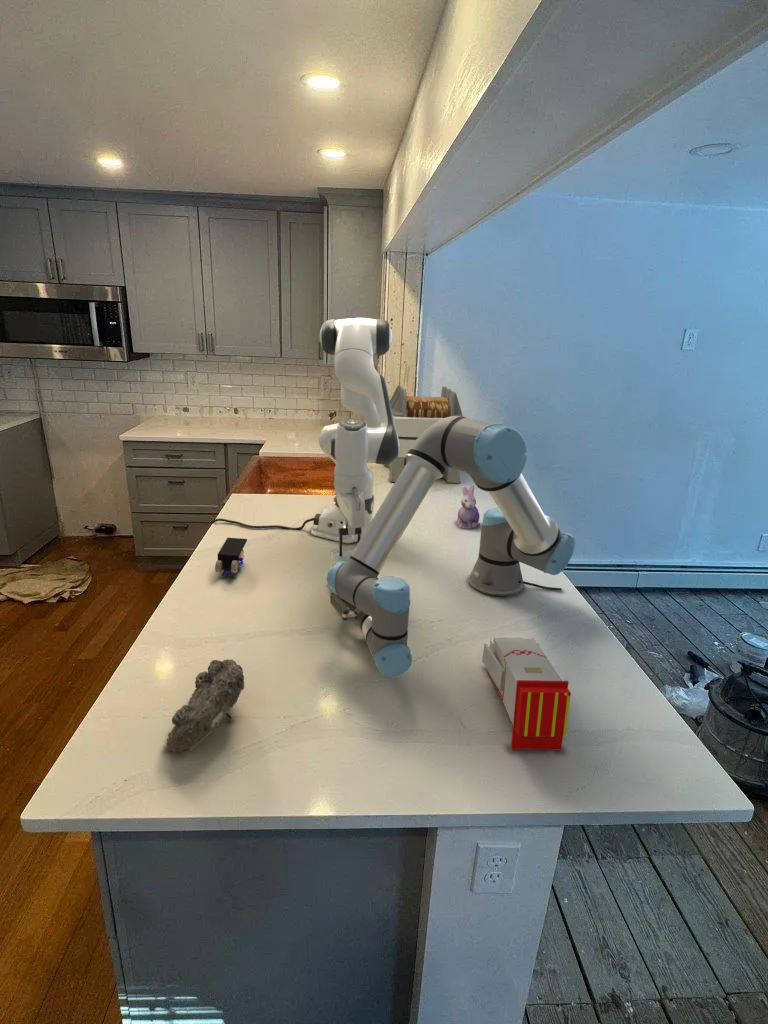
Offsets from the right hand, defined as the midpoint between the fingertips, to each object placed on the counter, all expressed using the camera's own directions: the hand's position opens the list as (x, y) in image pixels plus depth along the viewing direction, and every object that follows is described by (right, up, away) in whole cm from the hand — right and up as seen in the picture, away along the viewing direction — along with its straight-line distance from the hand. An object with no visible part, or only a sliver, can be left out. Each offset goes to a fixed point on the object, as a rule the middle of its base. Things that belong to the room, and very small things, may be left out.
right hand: (356, 581), depth 149 cm
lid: (-1, +4, +3) cm, 5 cm away
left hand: (-2, +13, +4) cm, 14 cm away
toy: (+35, -21, -33) cm, 52 cm away
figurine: (+39, +13, +62) cm, 74 cm away
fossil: (-25, -21, -41) cm, 52 cm away
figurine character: (-38, +1, +19) cm, 42 cm away
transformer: (+25, +37, +126) cm, 134 cm away
